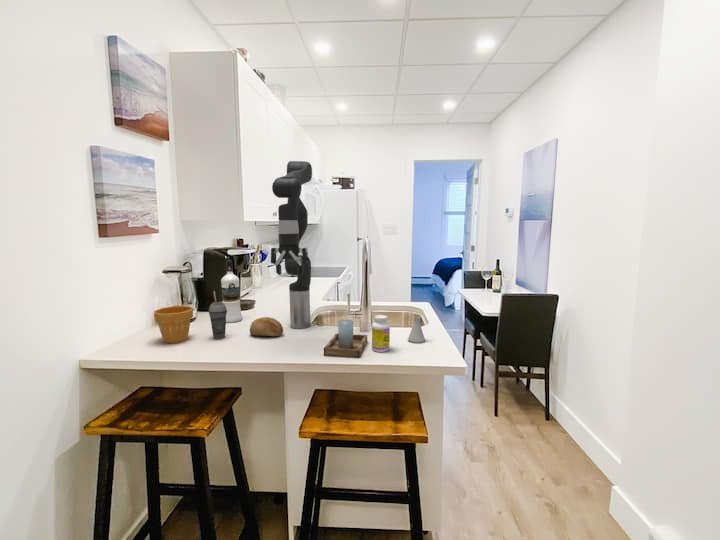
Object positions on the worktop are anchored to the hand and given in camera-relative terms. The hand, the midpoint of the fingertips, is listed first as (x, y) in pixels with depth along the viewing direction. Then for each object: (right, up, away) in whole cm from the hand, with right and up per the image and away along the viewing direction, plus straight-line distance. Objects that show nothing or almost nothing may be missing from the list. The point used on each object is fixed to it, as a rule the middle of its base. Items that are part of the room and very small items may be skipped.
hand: (290, 274), depth 139 cm
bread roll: (-13, -27, +17) cm, 34 cm away
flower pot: (-49, -27, +11) cm, 57 cm away
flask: (+50, -27, +8) cm, 58 cm away
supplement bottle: (+35, -29, -2) cm, 45 cm away
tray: (+22, -28, 0) cm, 36 cm away
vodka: (-37, -23, +41) cm, 60 cm away
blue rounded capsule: (+21, -27, -2) cm, 35 cm away
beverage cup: (-33, -27, +14) cm, 44 cm away
